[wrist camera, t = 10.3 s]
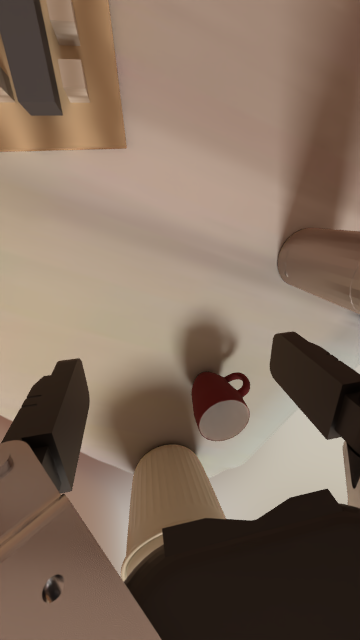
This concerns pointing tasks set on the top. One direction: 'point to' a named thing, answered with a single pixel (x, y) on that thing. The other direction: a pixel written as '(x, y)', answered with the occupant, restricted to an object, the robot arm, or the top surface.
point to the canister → (166, 499)
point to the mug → (220, 405)
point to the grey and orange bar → (29, 57)
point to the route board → (74, 116)
